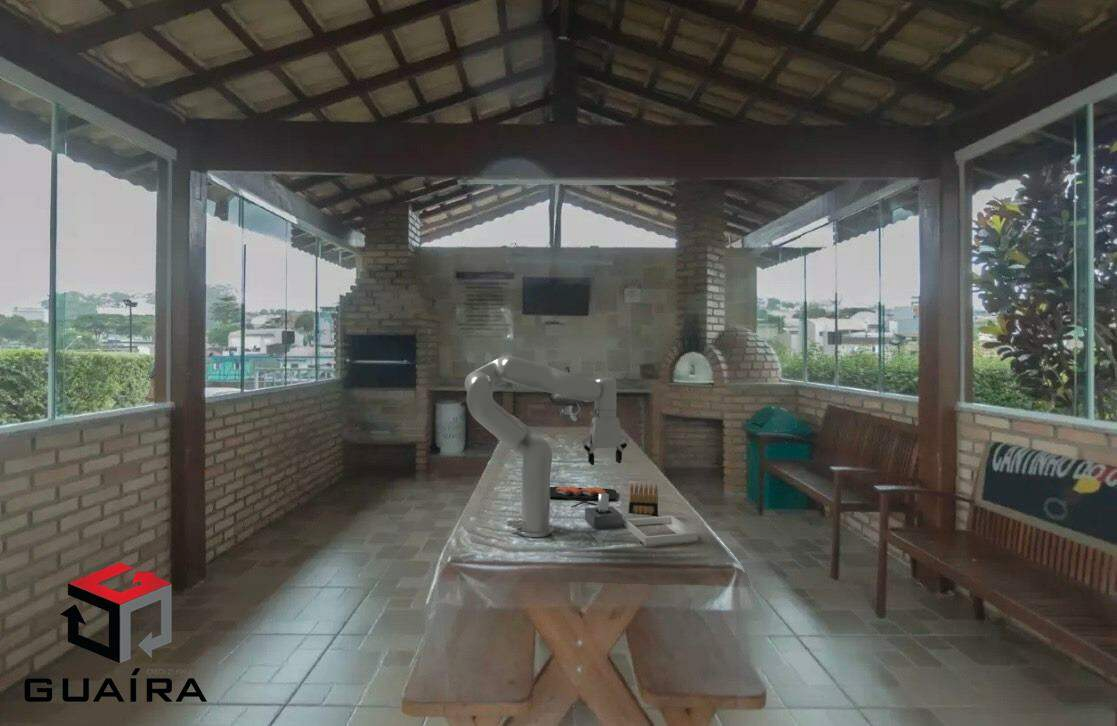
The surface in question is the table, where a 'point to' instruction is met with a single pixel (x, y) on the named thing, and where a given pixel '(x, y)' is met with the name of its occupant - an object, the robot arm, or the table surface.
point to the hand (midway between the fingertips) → (605, 463)
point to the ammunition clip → (643, 500)
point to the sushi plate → (581, 493)
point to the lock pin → (603, 503)
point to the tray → (671, 522)
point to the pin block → (603, 518)
